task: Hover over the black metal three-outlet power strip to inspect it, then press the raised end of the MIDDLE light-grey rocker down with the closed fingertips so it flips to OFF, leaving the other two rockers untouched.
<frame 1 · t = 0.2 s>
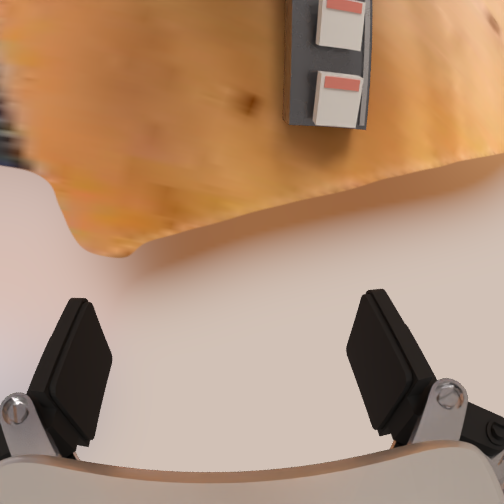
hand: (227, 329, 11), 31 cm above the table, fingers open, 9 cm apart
rocker 3: (337, 99, 29), point 6 cm above the table, hinge at 12.0°
rocker 2: (340, 22, 25), point 6 cm above the table, hinge at 12.0°
power strip: (323, 27, 30), on the table
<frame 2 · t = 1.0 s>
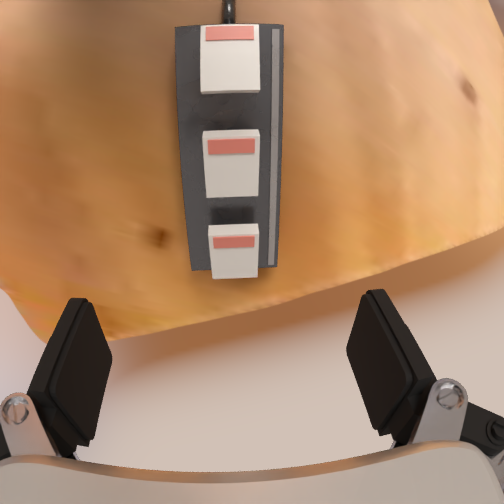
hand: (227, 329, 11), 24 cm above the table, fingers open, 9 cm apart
rocker 1: (229, 58, 21), point 6 cm above the table, hinge at -12.0°
rocker 3: (234, 253, 30), point 6 cm above the table, hinge at 12.0°
rocker 2: (231, 164, 26), point 6 cm above the table, hinge at 12.0°
power strip: (230, 146, 31), on the table
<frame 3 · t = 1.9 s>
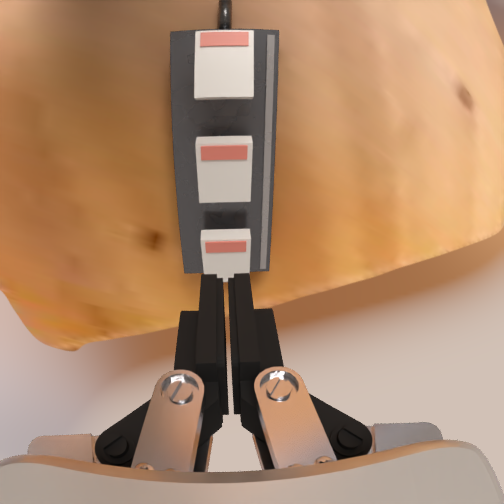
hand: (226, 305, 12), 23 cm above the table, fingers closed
rocker 1: (224, 64, 21), point 6 cm above the table, hinge at -12.0°
rocker 3: (226, 257, 30), point 6 cm above the table, hinge at 12.0°
rocker 2: (224, 170, 26), point 6 cm above the table, hinge at 12.0°
power strip: (224, 150, 31), on the table
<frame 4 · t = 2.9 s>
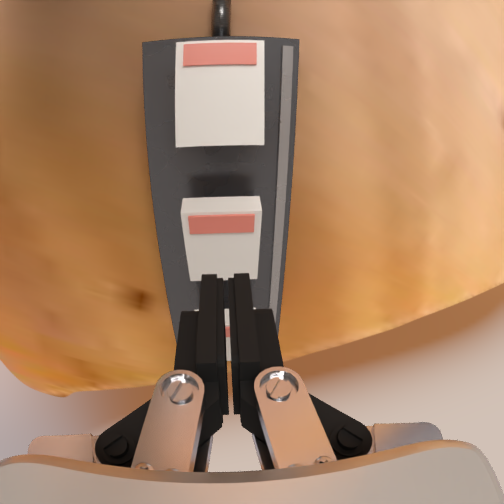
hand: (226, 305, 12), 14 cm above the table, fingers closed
rocker 1: (219, 92, 15), point 6 cm above the table, hinge at -12.0°
rocker 3: (226, 337, 24), point 6 cm above the table, hinge at 12.0°
rocker 2: (222, 242, 20), point 6 cm above the table, hinge at 12.0°
power strip: (221, 199, 25), on the table
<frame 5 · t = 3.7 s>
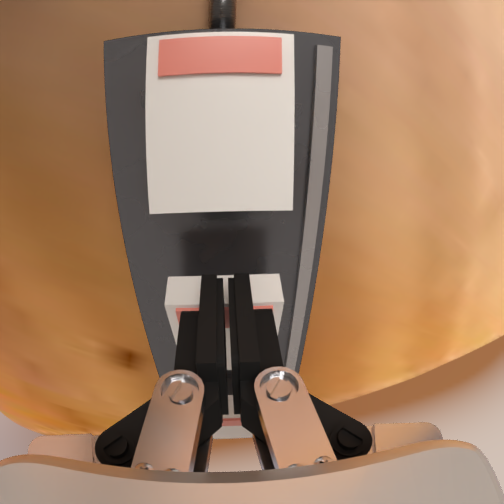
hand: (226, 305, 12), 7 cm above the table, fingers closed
rocker 1: (219, 119, 9), point 6 cm above the table, hinge at -12.0°
rocker 3: (231, 420, 18), point 6 cm above the table, hinge at 12.0°
rocker 2: (225, 330, 14), point 6 cm above the table, hinge at 11.9°, touching gripper
power strip: (224, 252, 19), on the table
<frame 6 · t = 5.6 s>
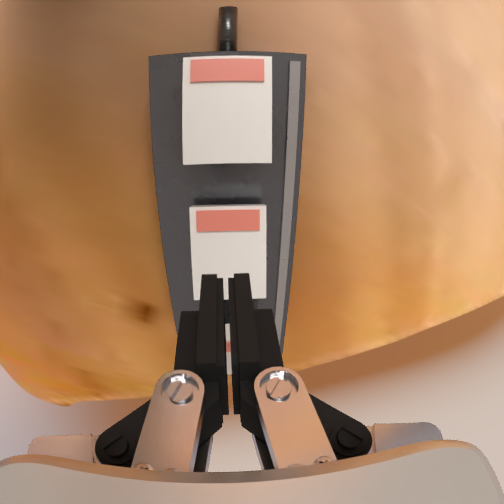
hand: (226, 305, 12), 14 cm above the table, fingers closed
rocker 1: (227, 109, 15), point 6 cm above the table, hinge at -12.0°
rocker 3: (231, 352, 24), point 6 cm above the table, hinge at 12.0°
rocker 2: (228, 252, 19), point 6 cm above the table, hinge at -18.3°
power strip: (227, 213, 25), on the table
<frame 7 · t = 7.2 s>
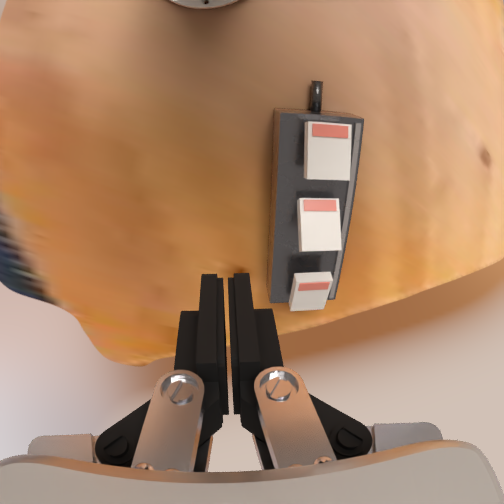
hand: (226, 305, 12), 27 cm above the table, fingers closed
rocker 1: (327, 150, 30), point 6 cm above the table, hinge at -12.0°
rocker 3: (310, 292, 39), point 6 cm above the table, hinge at 12.0°
rocker 2: (319, 224, 34), point 6 cm above the table, hinge at -33.5°, touching power strip
power strip: (306, 206, 40), on the table
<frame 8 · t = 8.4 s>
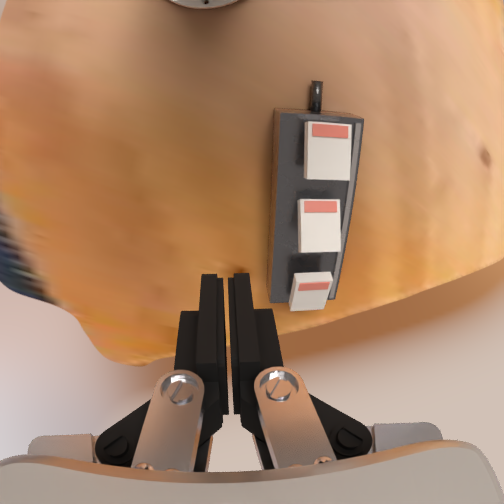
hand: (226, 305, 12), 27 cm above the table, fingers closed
rocker 1: (327, 150, 30), point 6 cm above the table, hinge at -12.0°
rocker 3: (310, 292, 39), point 6 cm above the table, hinge at 12.0°
rocker 2: (319, 225, 34), point 6 cm above the table, hinge at -27.7°
power strip: (306, 205, 40), on the table
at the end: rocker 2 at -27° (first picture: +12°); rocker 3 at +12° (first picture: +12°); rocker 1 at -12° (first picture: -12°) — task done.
